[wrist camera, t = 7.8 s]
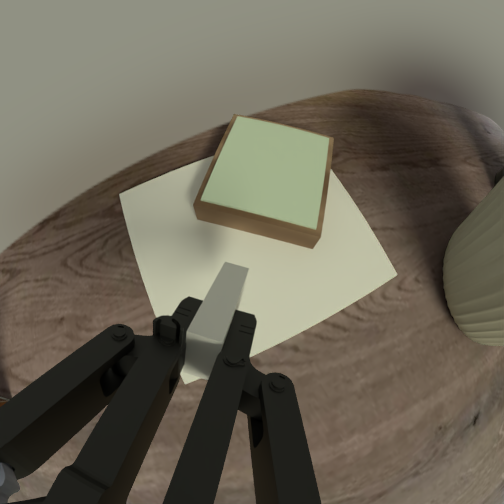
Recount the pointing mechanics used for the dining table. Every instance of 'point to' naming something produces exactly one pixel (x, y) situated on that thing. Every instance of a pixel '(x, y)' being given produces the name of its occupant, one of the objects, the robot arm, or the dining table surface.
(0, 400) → the food container
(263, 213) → the green-topped wooden box
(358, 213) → the white flat sheet
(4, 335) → the dining table surface
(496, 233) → the canister
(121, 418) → the robot arm
